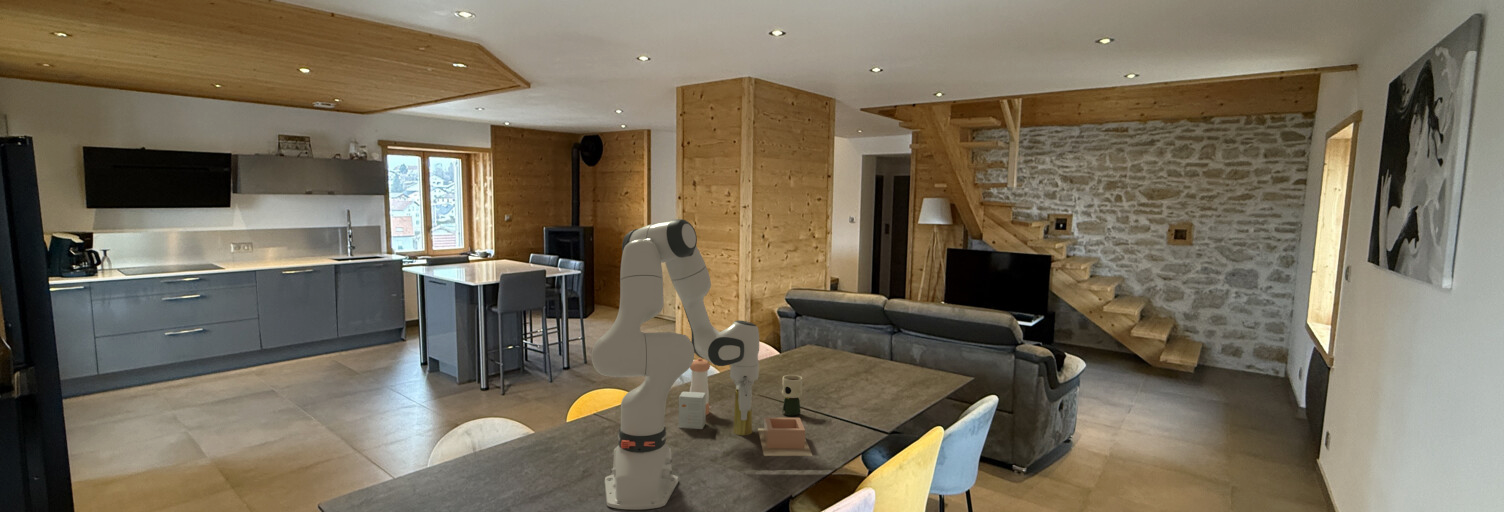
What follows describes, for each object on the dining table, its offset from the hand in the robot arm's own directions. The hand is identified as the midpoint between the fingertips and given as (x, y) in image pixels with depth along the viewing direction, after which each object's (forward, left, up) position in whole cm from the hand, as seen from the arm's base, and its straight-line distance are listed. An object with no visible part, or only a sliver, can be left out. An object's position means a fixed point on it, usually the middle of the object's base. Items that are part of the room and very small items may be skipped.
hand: (743, 415), depth 203 cm
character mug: (+20, -18, -6) cm, 28 cm away
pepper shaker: (+21, +14, -6) cm, 26 cm away
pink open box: (-8, -12, -5) cm, 15 cm away
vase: (0, 0, -6) cm, 6 cm away
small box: (+8, +16, -6) cm, 19 cm away
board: (-8, -12, -6) cm, 16 cm away
